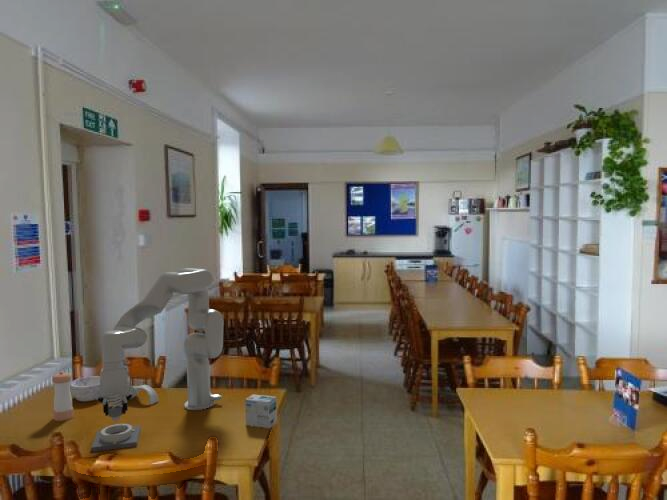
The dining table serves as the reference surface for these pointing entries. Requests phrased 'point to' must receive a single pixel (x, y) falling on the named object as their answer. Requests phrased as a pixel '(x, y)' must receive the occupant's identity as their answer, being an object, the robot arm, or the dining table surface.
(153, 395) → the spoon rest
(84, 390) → the marbled white bowl
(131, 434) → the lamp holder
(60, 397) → the salt shaker
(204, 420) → the dining table surface
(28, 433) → the dining table surface
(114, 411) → the light bulb
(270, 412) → the light bulb box
